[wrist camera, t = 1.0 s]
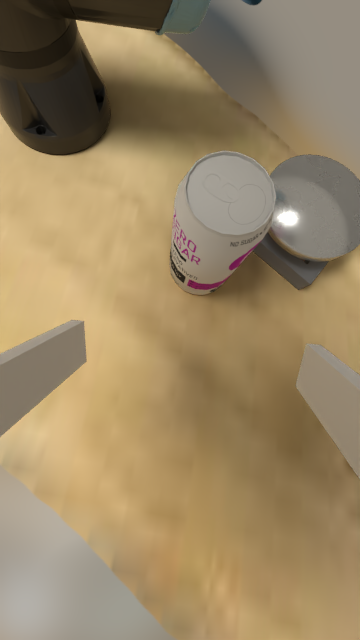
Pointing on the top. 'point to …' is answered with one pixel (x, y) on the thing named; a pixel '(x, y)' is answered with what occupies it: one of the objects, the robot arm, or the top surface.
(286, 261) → the scale frame
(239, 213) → the supplement can
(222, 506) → the top surface
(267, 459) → the top surface
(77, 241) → the top surface
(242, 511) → the top surface
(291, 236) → the scale plate
